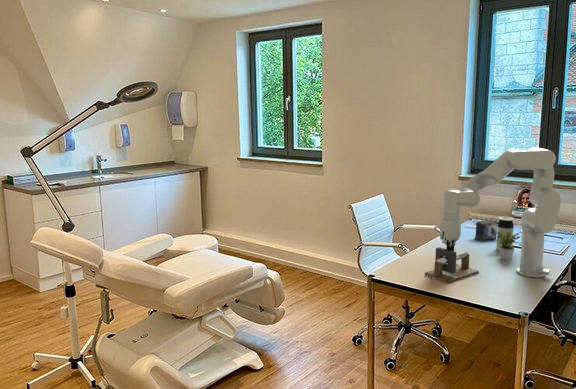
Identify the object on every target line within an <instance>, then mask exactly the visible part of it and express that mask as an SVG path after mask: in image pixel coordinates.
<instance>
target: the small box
mask: <svg viewBox="0 0 576 389" xmlns="http://www.w3.org/2000/svg"><path fill="white" fill-rule="evenodd" d="M475 224H476V225H475V235H474V239H476V240H479V241H481V242H483V241H492V240H494V241H495V240H497V230H498V222H496V221H494V220H491V219H490V220H478V221H476V223H475Z"/></svg>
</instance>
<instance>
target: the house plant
mask: <svg viewBox="0 0 576 389" xmlns="http://www.w3.org/2000/svg"><path fill="white" fill-rule="evenodd" d="M497 230H498V229H497ZM498 232H499V233H500V235H501V236H500V235H499V234H498V235H499V236H500V238H501V240H497V239H495V242H497V241H498V242H500V243H501V244H502V246H500V251H499V254H500V255H499V256H500V260H501V261H502V260H503V261H512V259H513V255H514V251H515V247H514V246H513V244H516V243H517V244H518V245H519V244H522V241H521V242H519V241H517V237H518V238H520V237H519V235H521V236H522V233H521V231H519V232H516V233H515V234H513V237H512V236H511V229H510V231H509V232H508V233H507V230H506V238H505V235H504V237H503V235H502V233H501V232H500V231H499V230H498ZM510 237H512V238H511V239H510ZM512 243H513V244H512ZM511 244H512V246H510V245H511Z"/></svg>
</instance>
